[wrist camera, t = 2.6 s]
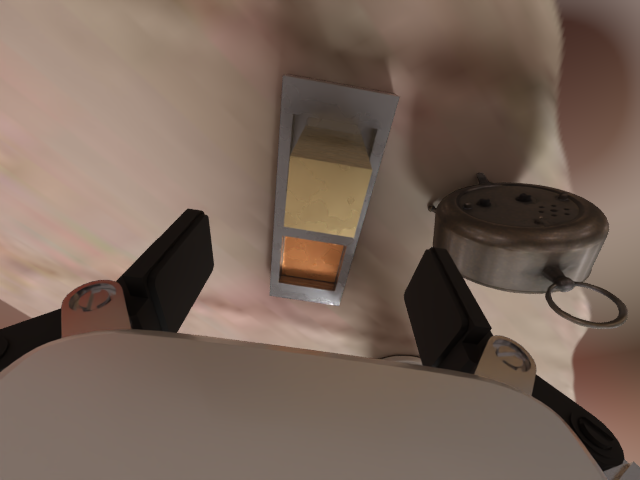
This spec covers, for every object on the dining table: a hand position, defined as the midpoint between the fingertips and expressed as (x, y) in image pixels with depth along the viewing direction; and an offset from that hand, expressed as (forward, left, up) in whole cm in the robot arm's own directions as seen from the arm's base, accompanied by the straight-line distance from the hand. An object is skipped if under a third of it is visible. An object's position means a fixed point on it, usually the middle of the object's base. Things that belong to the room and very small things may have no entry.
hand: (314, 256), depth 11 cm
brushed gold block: (0, 0, -16) cm, 16 cm away
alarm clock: (-15, +2, -17) cm, 23 cm away
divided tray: (0, +6, -17) cm, 18 cm away
